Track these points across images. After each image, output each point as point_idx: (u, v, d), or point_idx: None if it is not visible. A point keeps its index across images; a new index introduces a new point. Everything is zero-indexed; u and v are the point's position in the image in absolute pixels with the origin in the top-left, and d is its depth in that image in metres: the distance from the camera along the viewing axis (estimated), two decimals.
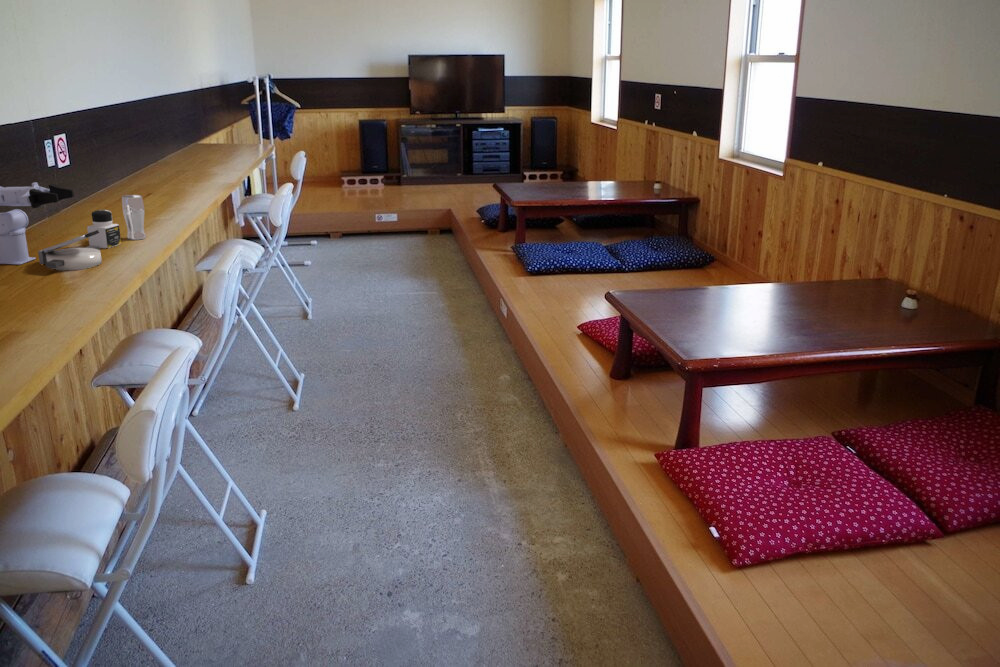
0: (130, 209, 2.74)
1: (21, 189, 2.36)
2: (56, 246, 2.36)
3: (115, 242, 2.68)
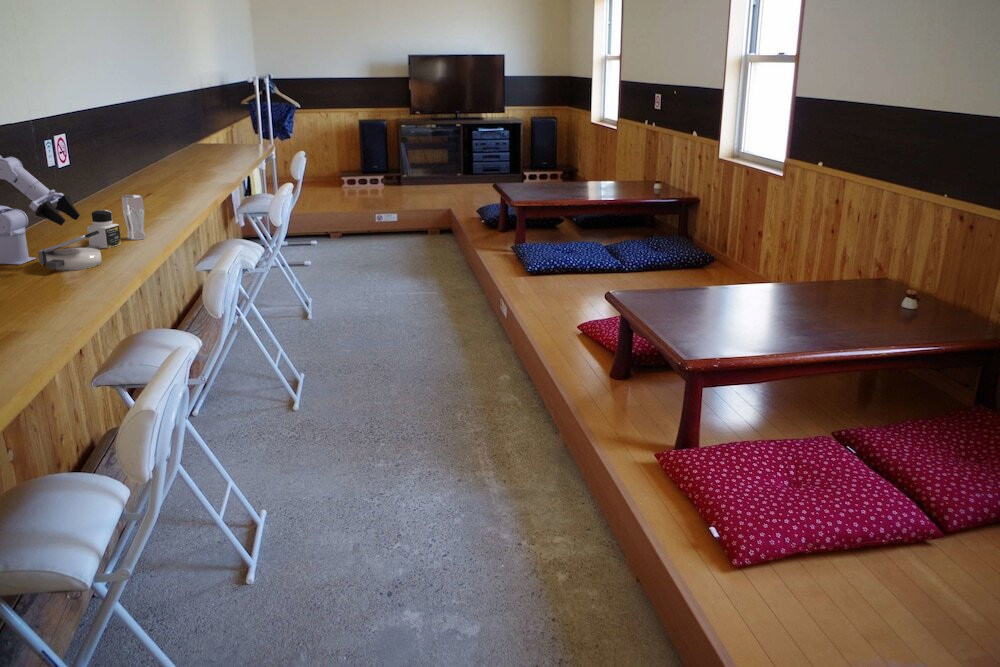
0: (130, 209, 2.74)
1: (37, 188, 2.35)
2: (56, 246, 2.36)
3: (115, 242, 2.68)
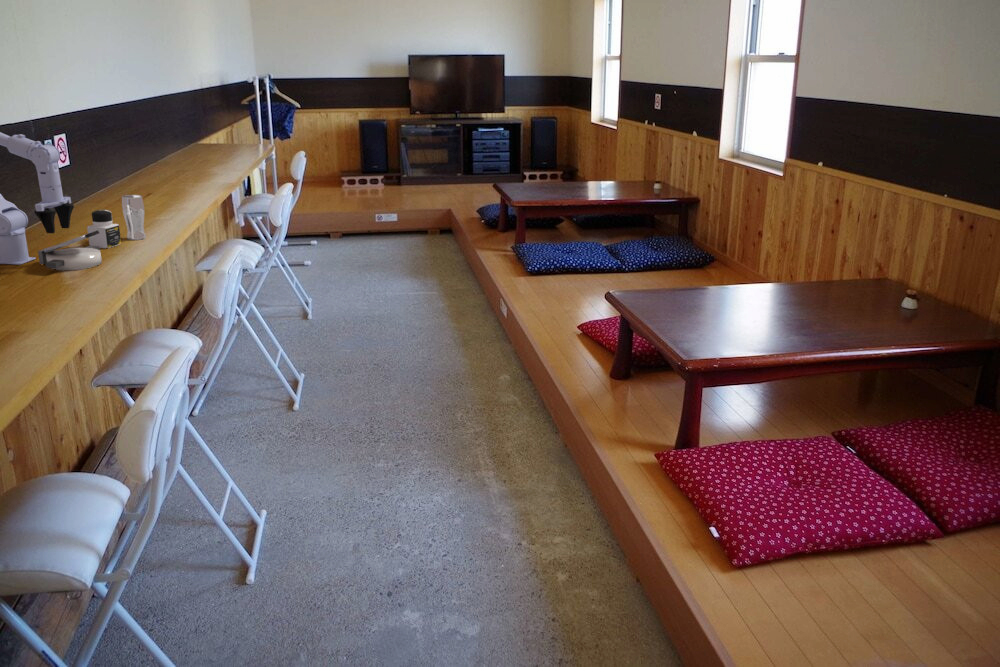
0: (130, 209, 2.74)
1: (54, 191, 2.36)
2: (56, 246, 2.36)
3: (115, 242, 2.68)
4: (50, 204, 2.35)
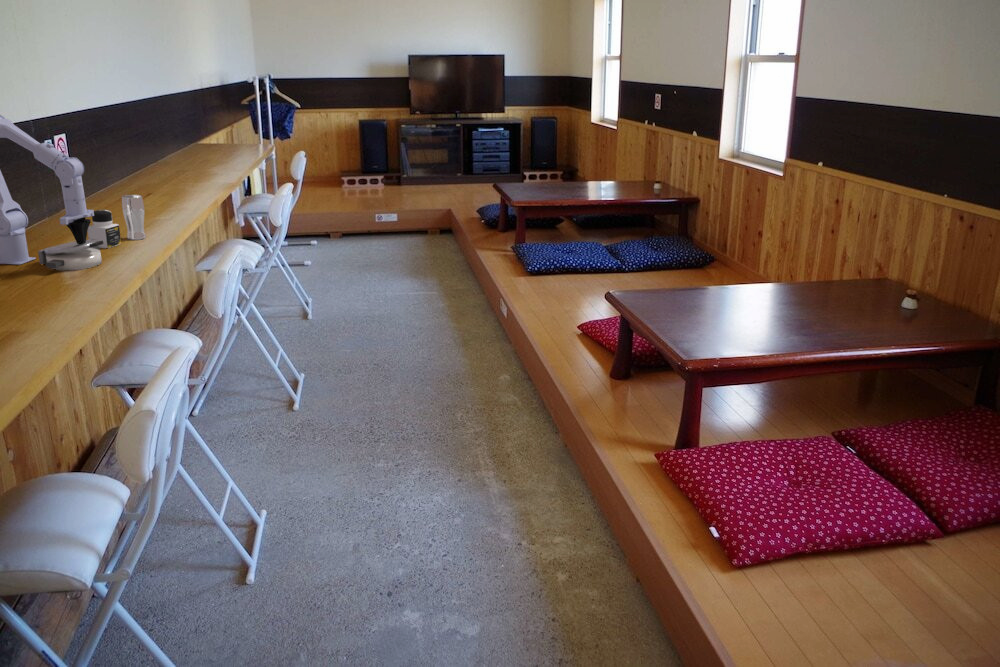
0: (130, 209, 2.74)
1: (78, 205, 2.37)
2: (59, 251, 2.36)
3: (115, 242, 2.68)
4: (74, 217, 2.36)
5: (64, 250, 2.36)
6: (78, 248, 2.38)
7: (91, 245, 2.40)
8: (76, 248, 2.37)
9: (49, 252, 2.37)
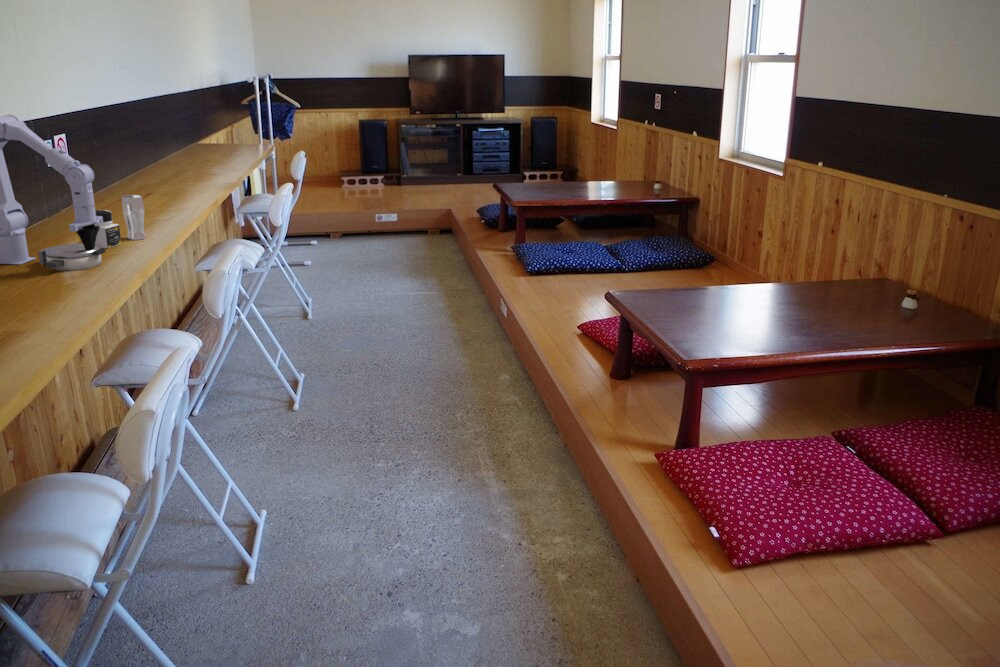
0: (130, 209, 2.74)
1: (88, 212, 2.37)
2: (60, 256, 2.37)
3: (115, 242, 2.68)
4: (83, 224, 2.36)
5: (66, 255, 2.37)
6: (80, 255, 2.38)
7: (93, 253, 2.41)
8: (78, 255, 2.38)
9: (50, 254, 2.37)
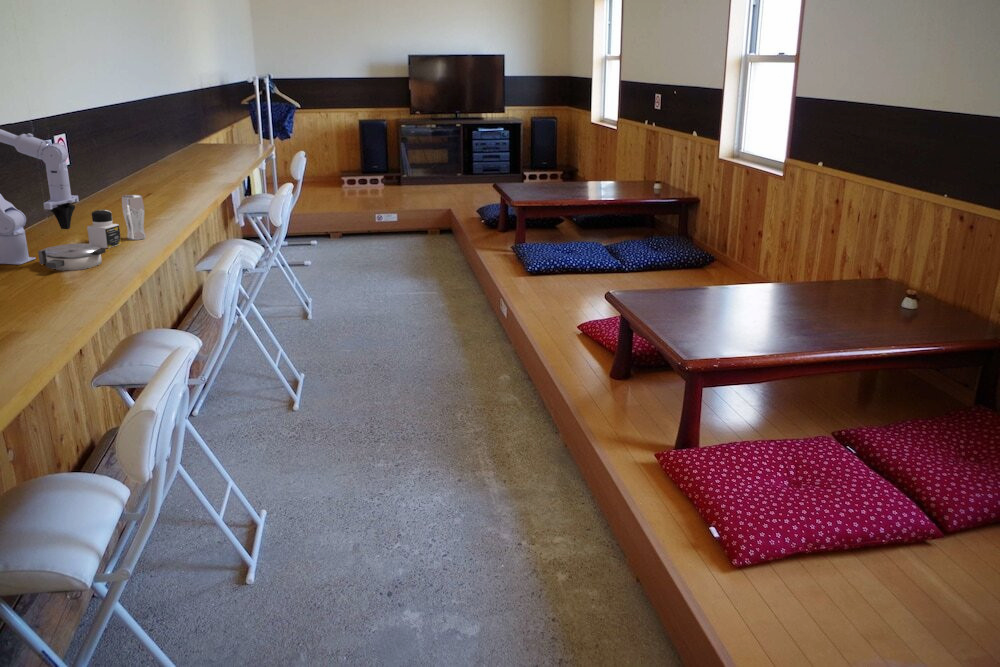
0: (130, 209, 2.74)
1: (63, 190, 2.39)
2: (60, 256, 2.37)
3: (115, 242, 2.68)
4: (58, 203, 2.38)
5: (66, 255, 2.37)
6: (80, 255, 2.38)
7: (93, 253, 2.41)
8: (78, 255, 2.38)
9: (50, 254, 2.37)
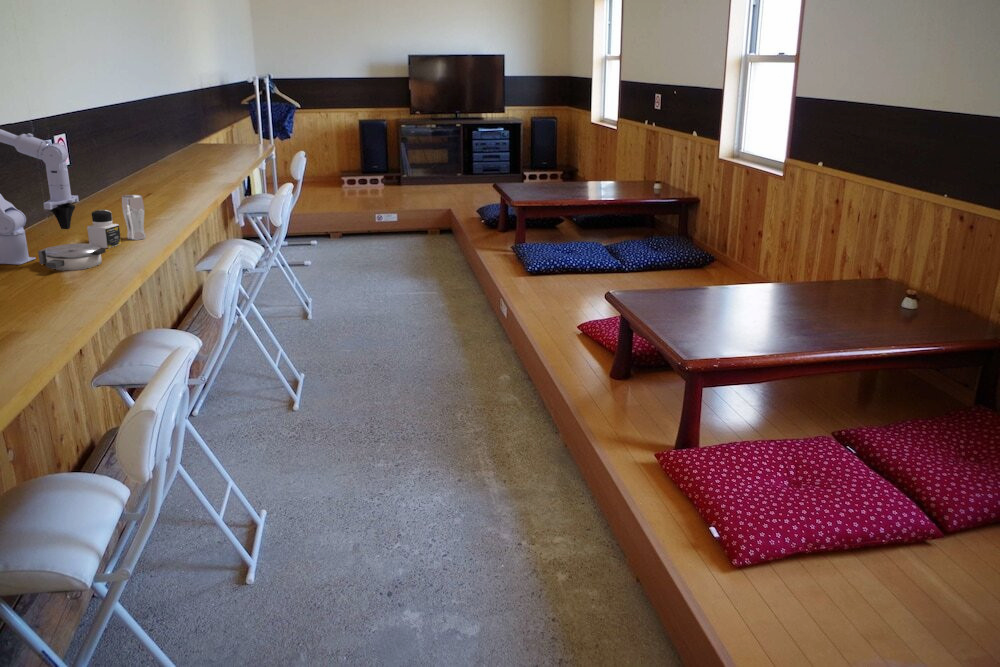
0: (130, 209, 2.74)
1: (63, 190, 2.39)
2: (60, 256, 2.37)
3: (115, 242, 2.68)
4: (58, 203, 2.38)
5: (66, 255, 2.37)
6: (80, 255, 2.38)
7: (93, 253, 2.41)
8: (78, 255, 2.38)
9: (50, 254, 2.37)
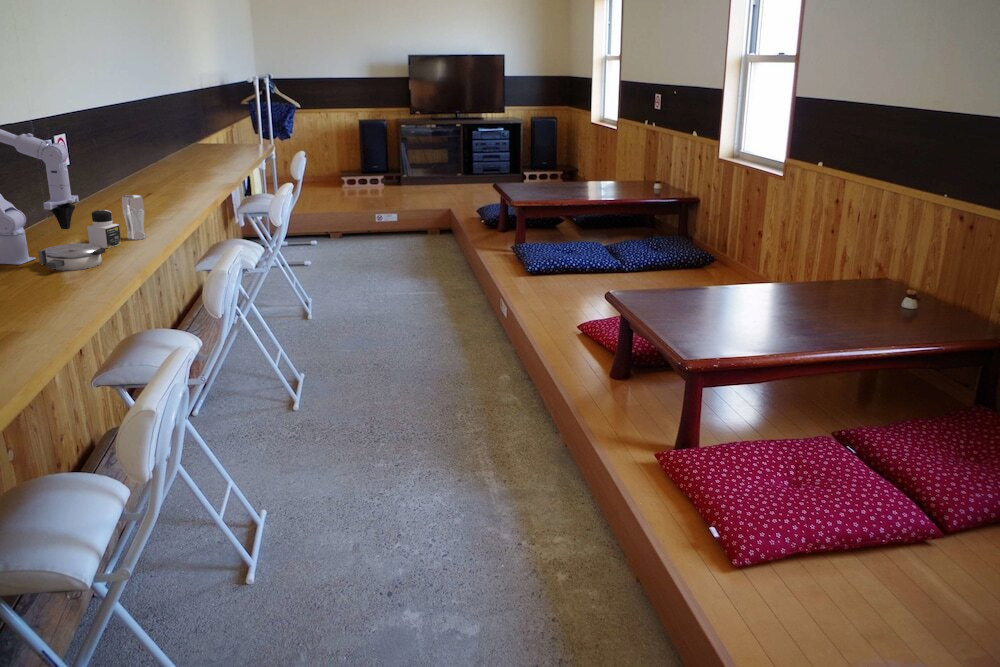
0: (130, 209, 2.74)
1: (63, 190, 2.39)
2: (60, 256, 2.37)
3: (115, 242, 2.68)
4: (58, 203, 2.38)
5: (66, 255, 2.37)
6: (80, 255, 2.38)
7: (93, 253, 2.41)
8: (78, 255, 2.38)
9: (50, 254, 2.37)
